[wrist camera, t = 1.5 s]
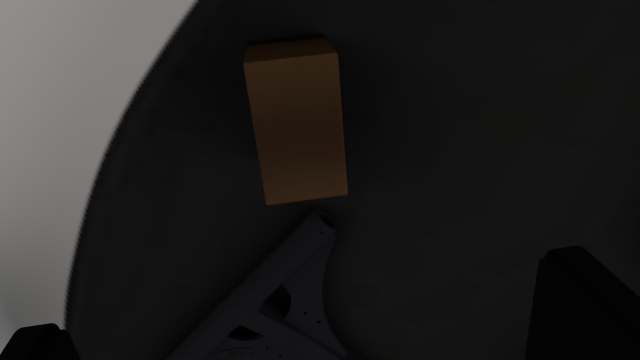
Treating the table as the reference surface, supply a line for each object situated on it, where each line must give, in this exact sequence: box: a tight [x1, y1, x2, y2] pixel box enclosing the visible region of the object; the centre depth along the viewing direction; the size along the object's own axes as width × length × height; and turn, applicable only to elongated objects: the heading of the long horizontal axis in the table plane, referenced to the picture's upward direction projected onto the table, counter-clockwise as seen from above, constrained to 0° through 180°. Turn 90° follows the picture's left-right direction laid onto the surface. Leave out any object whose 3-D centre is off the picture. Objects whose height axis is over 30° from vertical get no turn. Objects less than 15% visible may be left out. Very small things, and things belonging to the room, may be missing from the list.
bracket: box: [164, 207, 366, 360], centre depth 28 cm, size 14×15×3 cm
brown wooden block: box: [243, 34, 348, 205], centre depth 20 cm, size 6×4×4 cm, turn 5°
